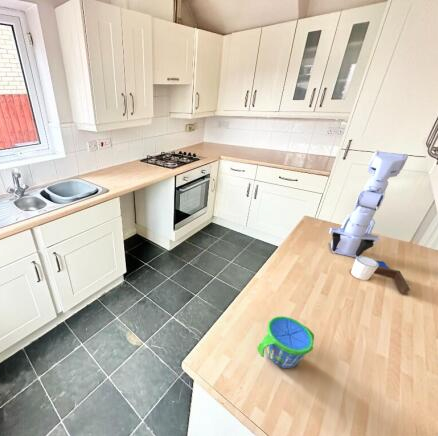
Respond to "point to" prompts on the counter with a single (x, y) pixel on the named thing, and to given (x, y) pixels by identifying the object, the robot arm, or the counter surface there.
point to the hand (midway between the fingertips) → (344, 252)
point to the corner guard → (397, 277)
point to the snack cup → (286, 341)
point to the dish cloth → (382, 264)
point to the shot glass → (364, 267)
